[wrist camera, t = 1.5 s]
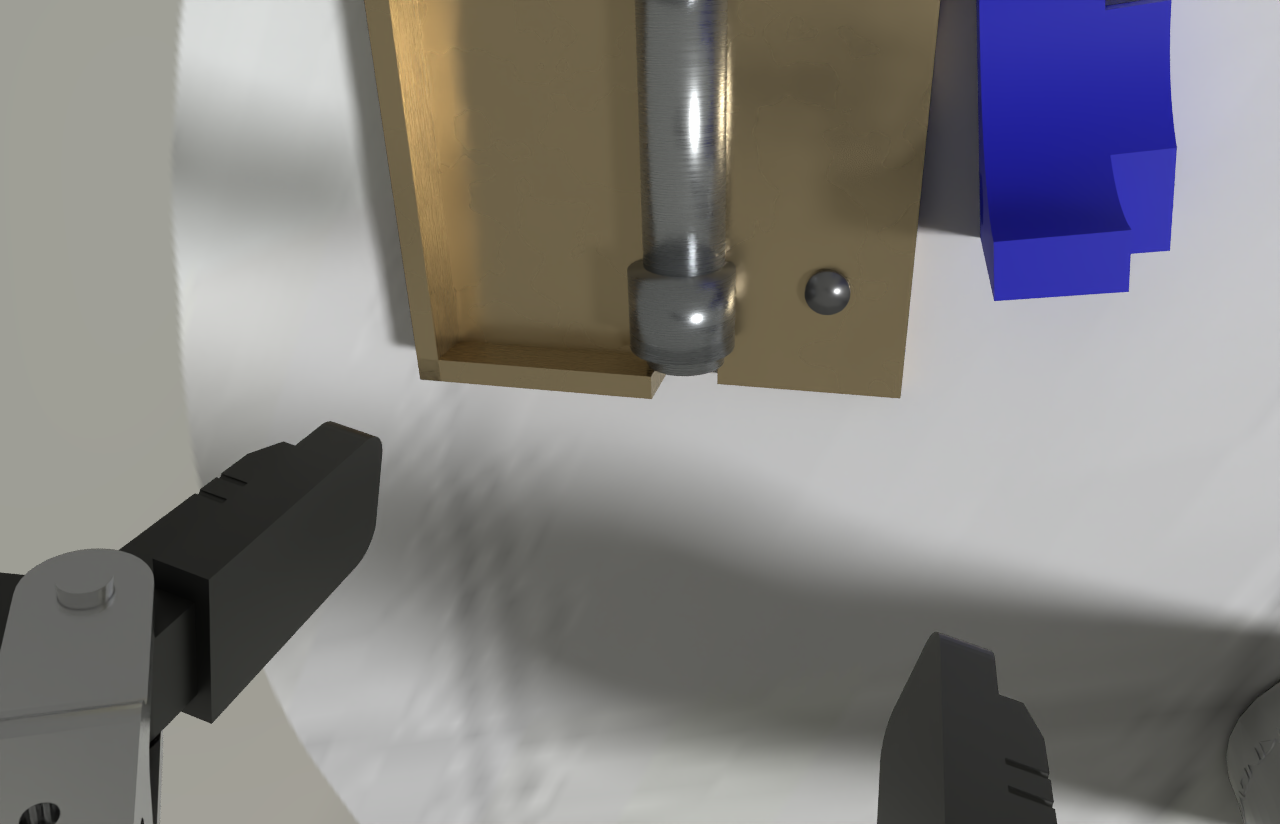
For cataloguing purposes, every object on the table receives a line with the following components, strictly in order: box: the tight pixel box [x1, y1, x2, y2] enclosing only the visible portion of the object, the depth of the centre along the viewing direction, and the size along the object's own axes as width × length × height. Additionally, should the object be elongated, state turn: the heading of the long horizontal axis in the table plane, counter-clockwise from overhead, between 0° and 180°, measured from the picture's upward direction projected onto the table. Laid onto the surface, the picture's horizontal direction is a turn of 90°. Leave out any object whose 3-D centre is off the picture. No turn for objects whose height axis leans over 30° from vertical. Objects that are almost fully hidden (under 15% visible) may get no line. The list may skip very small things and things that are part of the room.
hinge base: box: [364, 0, 940, 399], centre depth 28 cm, size 16×17×3 cm
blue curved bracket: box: [976, 0, 1177, 301], centre depth 23 cm, size 12×4×6 cm, turn 9°
